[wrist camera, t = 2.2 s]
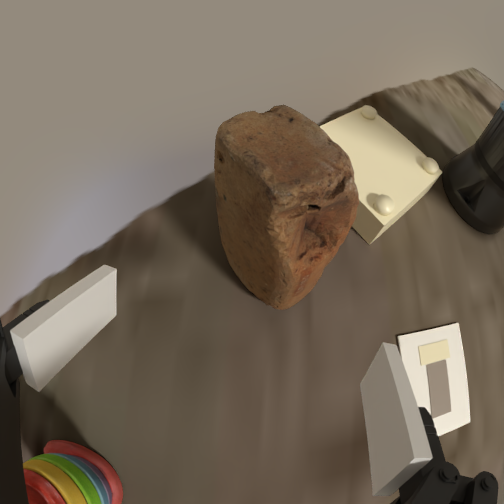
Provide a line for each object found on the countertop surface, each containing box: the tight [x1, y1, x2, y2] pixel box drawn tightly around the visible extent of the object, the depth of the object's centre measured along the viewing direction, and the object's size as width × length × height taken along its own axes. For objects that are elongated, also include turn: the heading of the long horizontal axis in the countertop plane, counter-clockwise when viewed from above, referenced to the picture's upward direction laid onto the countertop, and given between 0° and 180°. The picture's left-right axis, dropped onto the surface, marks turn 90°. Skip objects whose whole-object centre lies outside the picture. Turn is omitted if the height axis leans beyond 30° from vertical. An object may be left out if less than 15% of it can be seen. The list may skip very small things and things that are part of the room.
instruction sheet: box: [397, 323, 470, 436], centre depth 30 cm, size 10×14×1 cm
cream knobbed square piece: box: [320, 105, 442, 245], centre depth 39 cm, size 16×16×6 cm
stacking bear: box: [23, 440, 123, 504], centre depth 15 cm, size 11×10×18 cm
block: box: [214, 105, 359, 310], centre depth 27 cm, size 11×8×20 cm
